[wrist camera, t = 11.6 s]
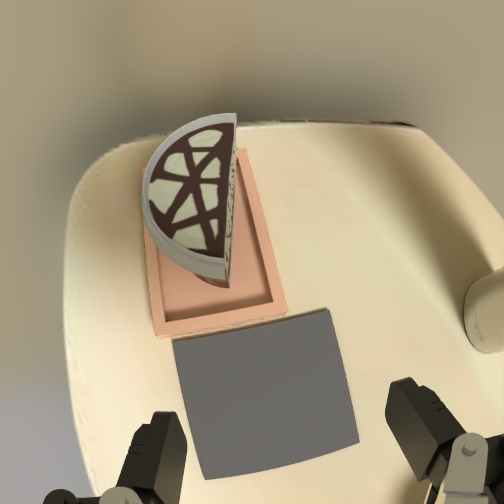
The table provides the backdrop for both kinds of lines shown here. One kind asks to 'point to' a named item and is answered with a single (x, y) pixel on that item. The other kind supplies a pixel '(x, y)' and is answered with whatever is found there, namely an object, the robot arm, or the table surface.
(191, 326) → the dish
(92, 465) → the table surface
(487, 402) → the table surface
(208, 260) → the food container
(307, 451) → the mat
